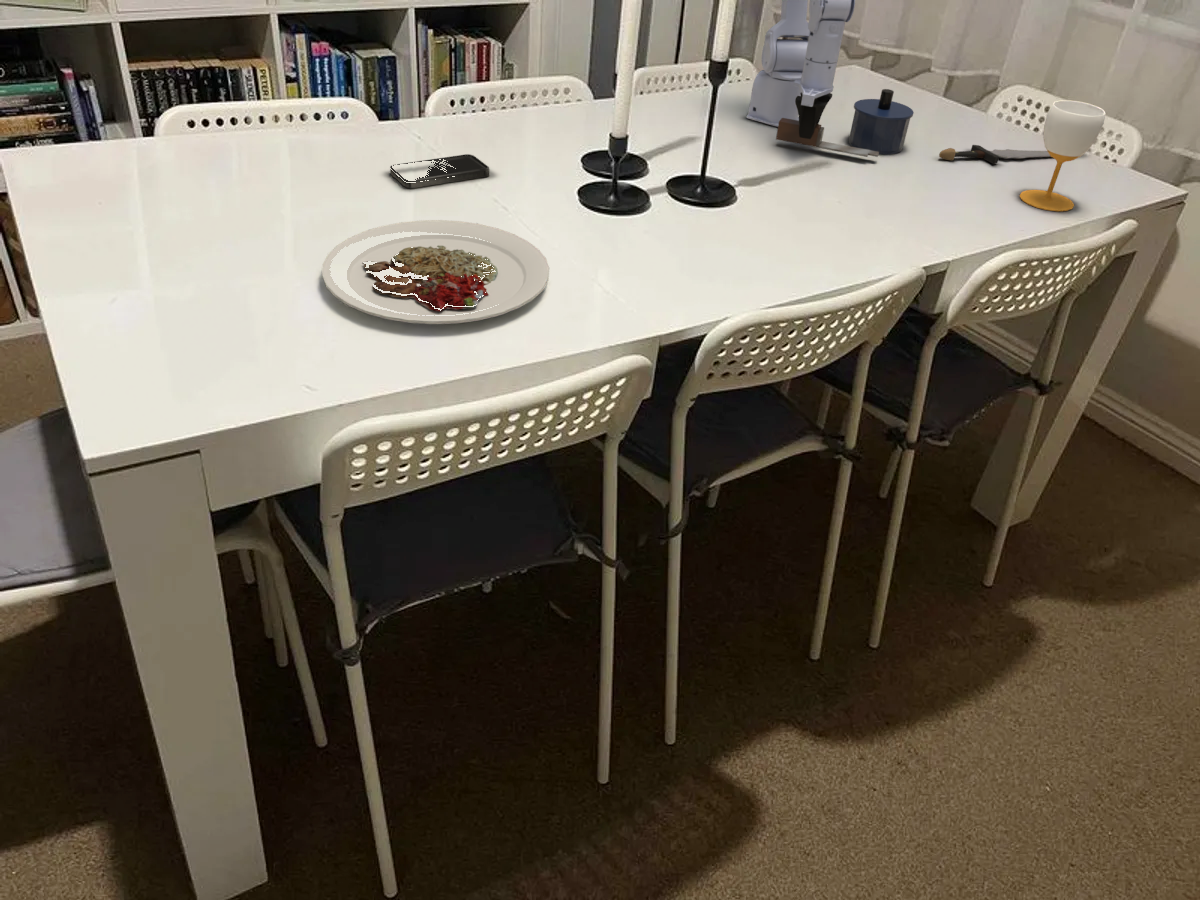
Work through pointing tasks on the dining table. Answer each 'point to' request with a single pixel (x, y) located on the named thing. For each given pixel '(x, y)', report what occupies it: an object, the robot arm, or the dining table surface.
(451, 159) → the phone
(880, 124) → the pot
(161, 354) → the dining table surface
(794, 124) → the knife
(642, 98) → the dining table surface
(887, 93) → the pot lid
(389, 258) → the plated food
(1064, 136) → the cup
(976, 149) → the dagger
